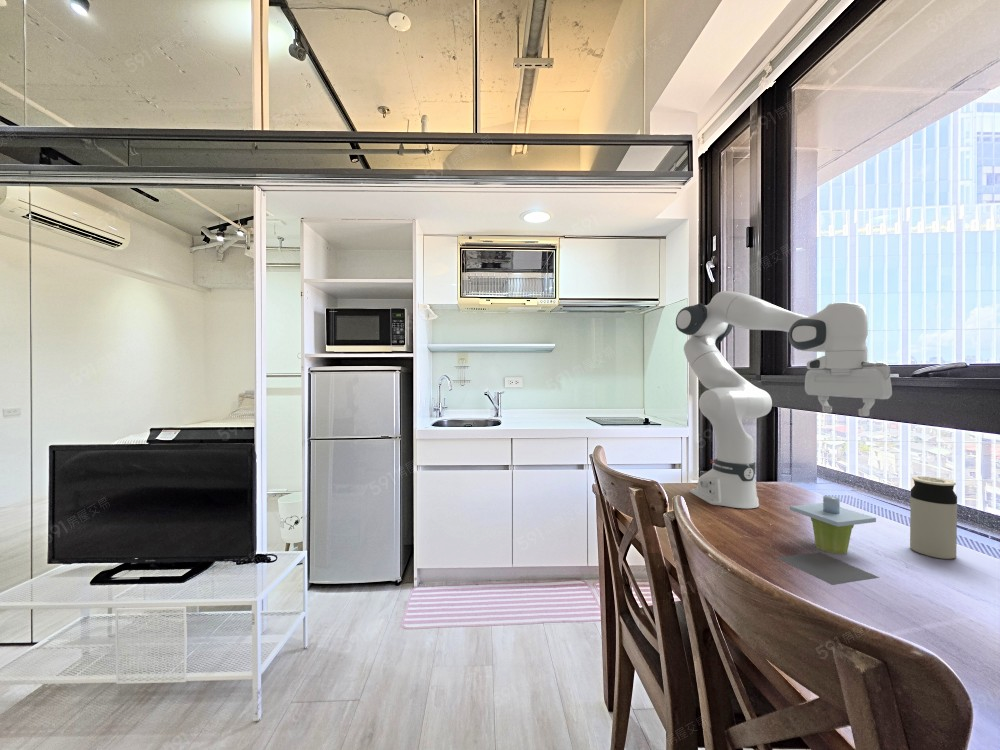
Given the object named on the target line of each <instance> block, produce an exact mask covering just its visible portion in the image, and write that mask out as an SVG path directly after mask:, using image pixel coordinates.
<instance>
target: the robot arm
mask: <svg viewBox="0 0 1000 750" xmlns="http://www.w3.org/2000/svg"><path fill="white" fill-rule="evenodd" d="M867 315H868V314H867V311H866V308H865V306H864V305H862V304H861V303H857V302H855V303H854V302H846V301H845V302H844V301H843V302H842V301H840V302H839V301H838V302H836V301H835V302H832V303H829V304H827V305H826V306H825V308H823V309H822V310H820V311H818V312H816V313H814V314H812V315H810V316H807V315H805V314H801V313H798V312H794V311H790V310H787V309H784V308H782V307H780V306H777V305H775V304H772V303H771V302H769V301H766V300H764V299H762V298H759V297H756V296H754V295H750V294H747V293H743V292H738V291H732V290H724V291H723V290H722V291H719V292H717V293H716V294H715V295H714V296H713V297H712V298H711V300H710V302H709V303H708V304H707V305H706V304H705V305H704V304H703V303H701V302H700V303H697V304H693V305H689V306H686V307H683V308H682V309H680V310H679V311H678V313H677V314H676V318H675V326H676V329H677V330H678V331H679V332H681V333H682V334H684V335H686V336H690V338H689V339H687V341H686V342H685V343H684V346H683V352H684V355H685V358H686V361H687V362H688V365H689V366H690V368H691V369H692V371H693V372H694V375H696V378H697V379H698V380H699V381H700V383H701V385H702V386H704V388H706V389H707V390H705V391H704V392H702V393H701V395H700V396H699V401H698V407H699V410H700V412H701V414H702V415H703V416H704V417H705V418H706V419H707V420H708V421H709V422H710V424H711V426H712V428H713V430H714V434H715V442H716V458H715V459H710V463H711V464H713V466H712V468H711V469H710V470H708V471H706V472H705V473H703V474H702V475H700V476H699V478H698V480H697V487H695V488H692V489H690V494H692V495H694V496H696V497H698V498H700V499H701V500H703V501H705V502H706V503H707V504H710V505H712V506H713V505H714V506H722V507H723V506H724V507H728V508H736V509H755V508H758V507H759V506H760V503H759V502H760V501H759V497H758V493H757V483H756V477H755V474H756V468H757V467H756V462H755V440H754V438H753V436H752V435H751V434H750V433H747V432H746V430H745V428H744V425H743V421H744V420H754V419H759V418H761V417H764V416H767V415H768V414H769V413H770V412H771V410H772V407H773V400H772V397H771V395H770V394H769V393H768V392H767V391H766V390H764V389H763V388H759V387H757V386H755V385H754V384H752V383H751V382H750V381H748V380H747V379H746V378H744V377H743V375H740V374H739V373H738V372H737V371H736V370H735V369H734V368H733V367H732V366H731V365H730V363H729V362H728V361H727V360H726V359H727V358H725V357H724V356H723V354H722V353H721V351H720V350H719V348H718V347H717V346H716V344H720V343H721V342H723V340H724V339H725V338H727V336H728V335H729V334H730V333H731V332H732V330H733V327H736V328H740V329H743V330H750V331H751V330H753V331H755V330H757V331H781V332H786V333H787V334H788V335H787V336H788V341H789V344H790V345H791V347H793V348H794V349H795V350H798V351H802V352H817V353H820V352H821V353H824V355H823V356H820V357H817V358H815V359H812V360H810V361H809V360H808V361H807V362H806V369H808V370H807V371H806V373H805V378H804V391H805V393H806V394H807V395H808V396H817V400H818V402H819V404H820V405H821V406H822V407H821V411H822V413H833V405H830V404H829V402H828V400H830V399H829V398H830V397H840V398H855V399H859V398H860V399H862V403H864V405H863V406H862V408H858V409H857V412H858V413H857V414H858V416H860V417H870V411H871V408H873V406H874V405H875V403H876V400H889V399H890V398H891V397H892V396H893V390H892V389H893V387H892V380H891V368H890V366H889V365H888V364H887V363H884V362H883V361H876V362H874V361H873V362H872V361H868V348H867V343H866V340H867V337H868V335H869V334H868V333H869V332H868V331H869V329H868V328H869V327H868V324H869V323H868V316H867Z"/></svg>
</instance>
